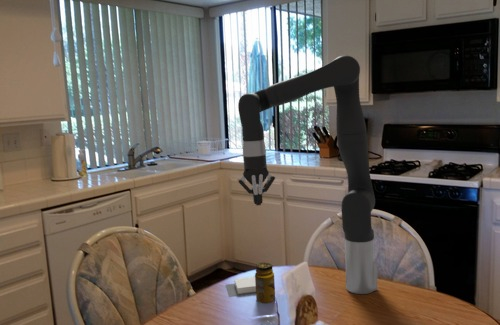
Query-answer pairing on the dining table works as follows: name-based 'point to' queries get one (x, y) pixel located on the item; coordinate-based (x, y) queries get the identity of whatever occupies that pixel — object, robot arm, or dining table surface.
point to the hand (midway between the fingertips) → (258, 204)
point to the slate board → (235, 291)
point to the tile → (245, 285)
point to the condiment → (264, 283)
